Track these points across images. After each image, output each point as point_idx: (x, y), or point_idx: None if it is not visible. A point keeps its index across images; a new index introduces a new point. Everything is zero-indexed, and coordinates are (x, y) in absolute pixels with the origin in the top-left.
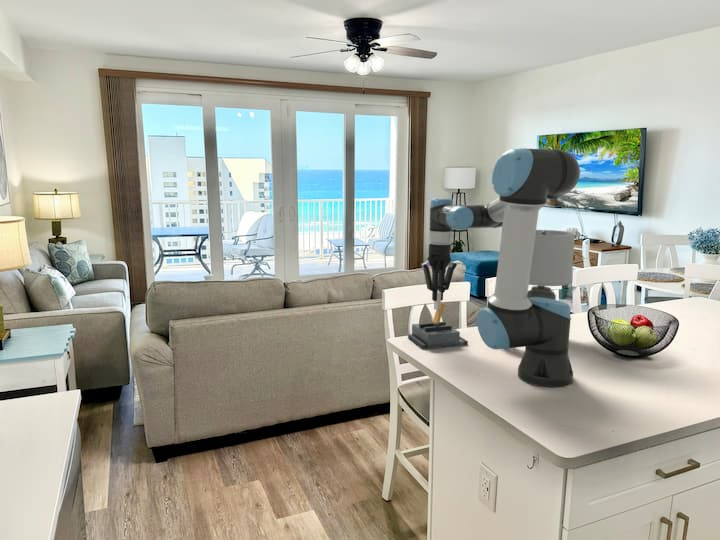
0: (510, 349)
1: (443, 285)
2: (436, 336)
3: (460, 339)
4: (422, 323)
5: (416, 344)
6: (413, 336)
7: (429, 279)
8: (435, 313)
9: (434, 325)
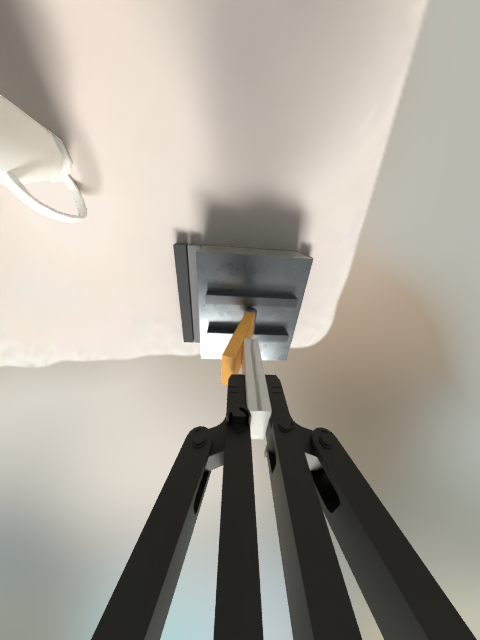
0: (40, 124)
1: (230, 468)
2: (280, 255)
3: (187, 268)
4: None
5: None
6: None
7: (408, 563)
8: None
9: None
